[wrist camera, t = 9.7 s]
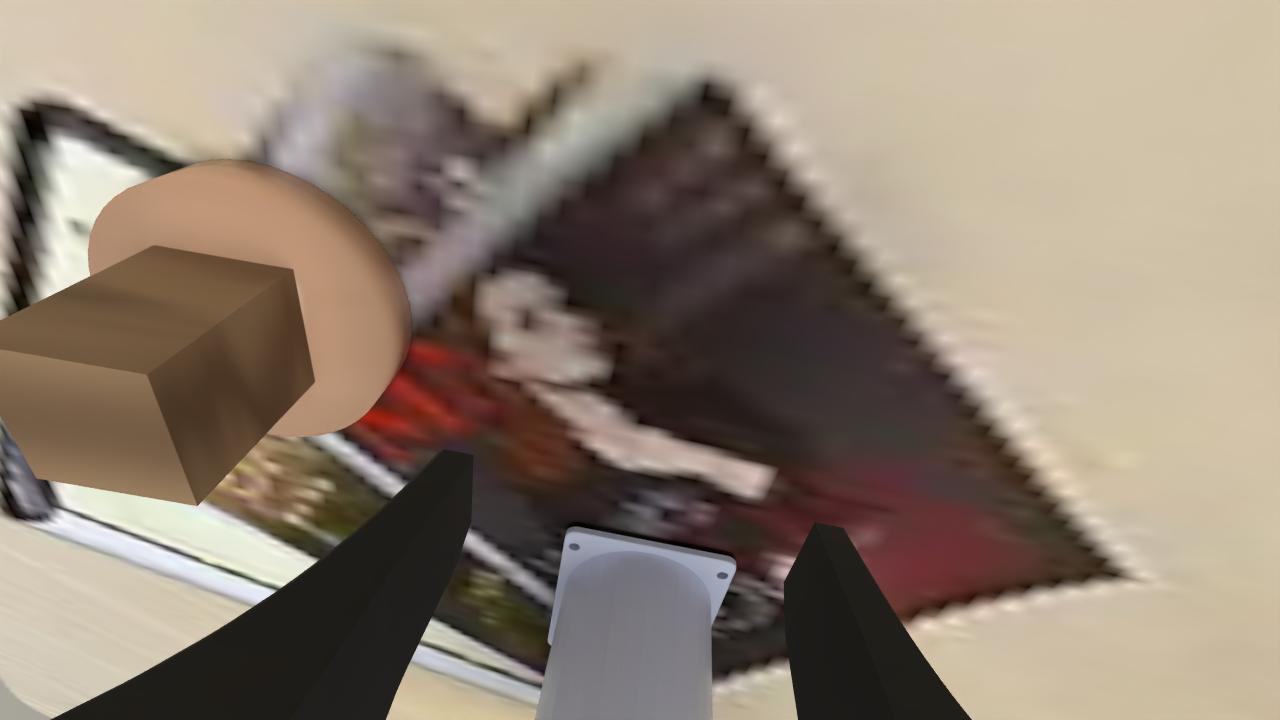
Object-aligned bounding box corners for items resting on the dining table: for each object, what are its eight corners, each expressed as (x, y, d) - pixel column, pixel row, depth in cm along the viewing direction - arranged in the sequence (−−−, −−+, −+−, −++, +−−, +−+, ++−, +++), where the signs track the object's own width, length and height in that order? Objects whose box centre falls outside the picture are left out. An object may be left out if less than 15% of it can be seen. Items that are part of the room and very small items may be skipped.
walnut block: (315, 381, 21) (197, 505, 16) (192, 360, 21) (36, 478, 16) (293, 268, 19) (147, 374, 14) (154, 244, 19) (-43, 342, 14)
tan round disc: (423, 416, 25) (398, 456, 23) (190, 376, 25) (144, 412, 23) (406, 184, 20) (371, 209, 18) (107, 132, 20) (36, 151, 18)
